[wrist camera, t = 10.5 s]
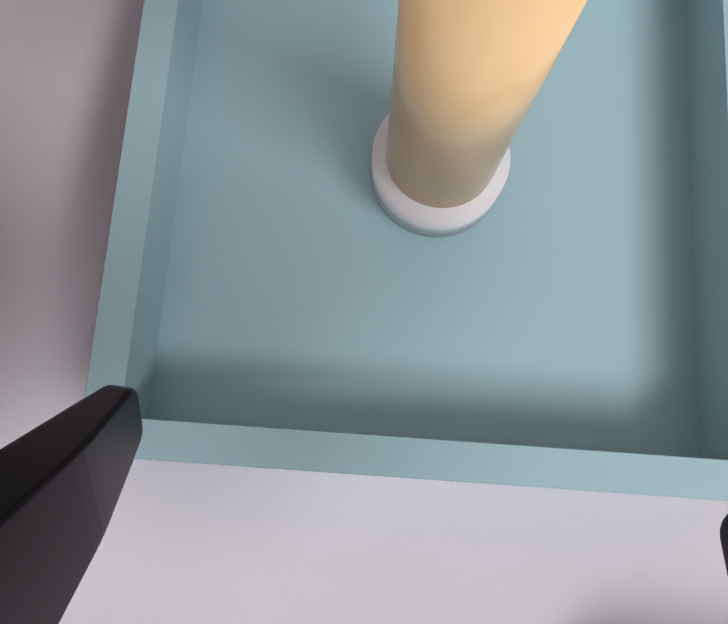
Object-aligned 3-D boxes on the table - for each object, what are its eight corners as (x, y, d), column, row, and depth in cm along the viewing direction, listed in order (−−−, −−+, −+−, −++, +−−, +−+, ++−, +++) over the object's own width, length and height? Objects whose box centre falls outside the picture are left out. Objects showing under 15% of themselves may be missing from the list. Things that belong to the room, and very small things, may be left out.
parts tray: (714, 490, 18) (784, 504, 15) (122, 448, 18) (76, 454, 15) (696, -34, 21) (751, -108, 18) (193, -65, 21) (165, -143, 18)
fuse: (441, 263, 18) (631, -111, 5) (345, 180, 19) (303, -347, 6) (524, 171, 19) (879, -371, 6) (428, 93, 19) (561, -568, 6)
